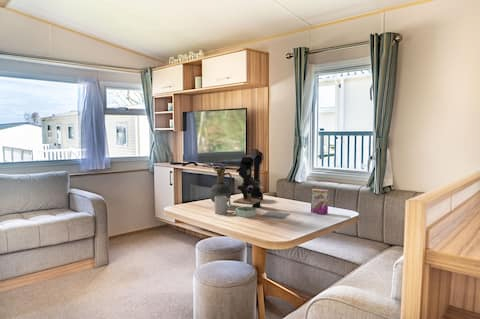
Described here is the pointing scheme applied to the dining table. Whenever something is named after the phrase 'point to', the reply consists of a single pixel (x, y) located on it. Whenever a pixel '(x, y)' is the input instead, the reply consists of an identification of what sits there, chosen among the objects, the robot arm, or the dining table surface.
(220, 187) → the pitcher
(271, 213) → the rubber mat
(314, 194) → the candy bar box
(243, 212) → the sage dish
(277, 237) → the dining table surface
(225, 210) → the mug
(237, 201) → the walnut lid
